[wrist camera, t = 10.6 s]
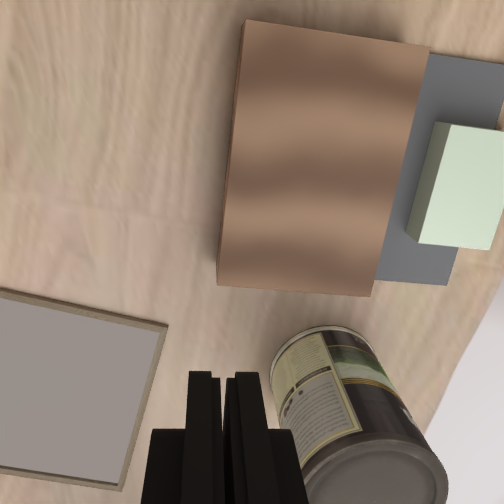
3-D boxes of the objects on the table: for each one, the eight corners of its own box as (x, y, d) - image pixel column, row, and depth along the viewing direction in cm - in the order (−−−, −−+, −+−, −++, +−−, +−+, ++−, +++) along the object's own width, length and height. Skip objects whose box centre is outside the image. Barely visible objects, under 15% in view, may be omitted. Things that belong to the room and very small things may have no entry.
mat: (409, 50, 33) (411, 50, 33) (510, 66, 34) (513, 66, 34) (358, 276, 39) (359, 278, 39) (444, 283, 40) (446, 285, 40)
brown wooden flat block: (241, 25, 31) (246, 19, 28) (405, 50, 33) (430, 47, 29) (216, 264, 38) (216, 285, 34) (354, 276, 39) (370, 297, 36)
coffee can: (373, 315, 41) (451, 428, 28) (378, 405, 45) (448, 542, 32) (261, 334, 41) (285, 458, 28) (275, 424, 44) (303, 570, 31)
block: (528, 135, 33) (507, 131, 35) (451, 124, 32) (435, 121, 35) (489, 250, 36) (472, 239, 38) (418, 242, 35) (405, 232, 38)
